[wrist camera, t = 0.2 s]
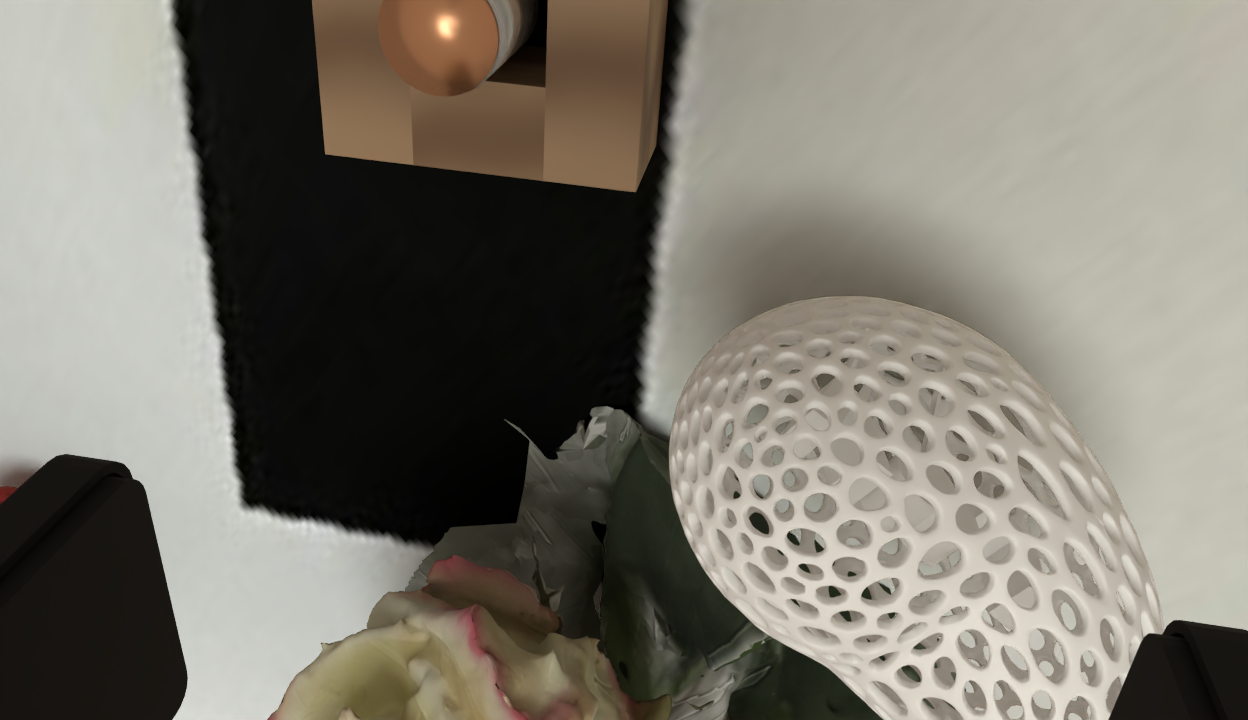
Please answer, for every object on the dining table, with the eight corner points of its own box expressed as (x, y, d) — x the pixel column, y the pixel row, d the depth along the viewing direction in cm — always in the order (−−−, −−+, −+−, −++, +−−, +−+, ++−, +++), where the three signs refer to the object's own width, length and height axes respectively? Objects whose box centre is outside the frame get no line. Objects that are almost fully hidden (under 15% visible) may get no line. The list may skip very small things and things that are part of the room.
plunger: (428, -63, 33) (372, -38, 29) (539, -52, 32) (498, -25, 28) (432, 52, 35) (380, 91, 30) (537, 63, 34) (498, 105, 30)
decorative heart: (644, 312, 43) (550, 597, 28) (828, 123, 38) (830, 353, 23) (949, 559, 46) (1007, 925, 32) (1154, 418, 41) (1335, 777, 27)
